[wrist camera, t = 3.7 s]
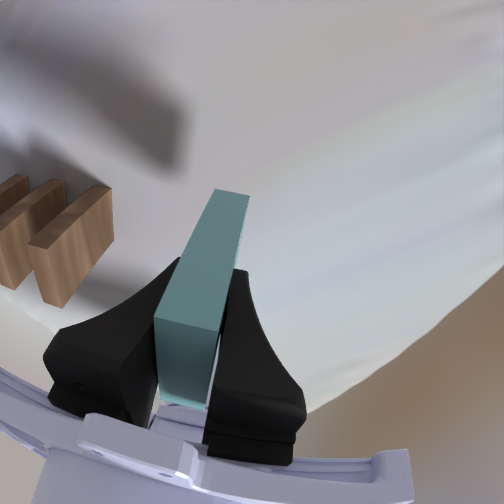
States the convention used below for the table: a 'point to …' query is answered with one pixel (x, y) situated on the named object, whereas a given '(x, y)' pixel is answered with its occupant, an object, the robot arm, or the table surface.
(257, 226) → the table surface
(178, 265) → the domino
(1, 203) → the domino
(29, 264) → the domino
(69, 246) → the domino
